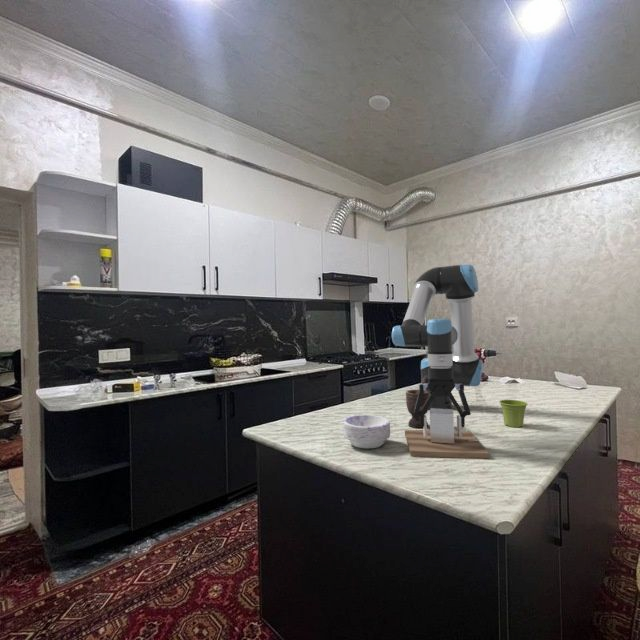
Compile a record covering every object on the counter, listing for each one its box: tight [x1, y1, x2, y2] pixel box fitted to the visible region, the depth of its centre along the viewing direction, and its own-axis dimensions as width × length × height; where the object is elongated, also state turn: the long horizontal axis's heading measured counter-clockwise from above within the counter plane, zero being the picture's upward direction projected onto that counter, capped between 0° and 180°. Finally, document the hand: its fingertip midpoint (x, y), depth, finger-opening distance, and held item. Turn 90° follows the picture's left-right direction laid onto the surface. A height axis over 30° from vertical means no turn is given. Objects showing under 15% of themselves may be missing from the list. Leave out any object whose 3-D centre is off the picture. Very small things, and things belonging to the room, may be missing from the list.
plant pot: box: [499, 399, 528, 428], centre depth 138 cm, size 9×9×9 cm
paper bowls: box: [342, 414, 391, 450], centre depth 121 cm, size 15×15×8 cm
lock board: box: [404, 429, 490, 460], centre depth 118 cm, size 22×22×2 cm
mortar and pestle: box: [405, 375, 429, 429], centre depth 139 cm, size 12×9×20 cm
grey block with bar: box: [429, 408, 455, 444], centre depth 120 cm, size 11×7×9 cm, turn 161°
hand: (442, 436), depth 118 cm, fingers open, 10 cm apart
